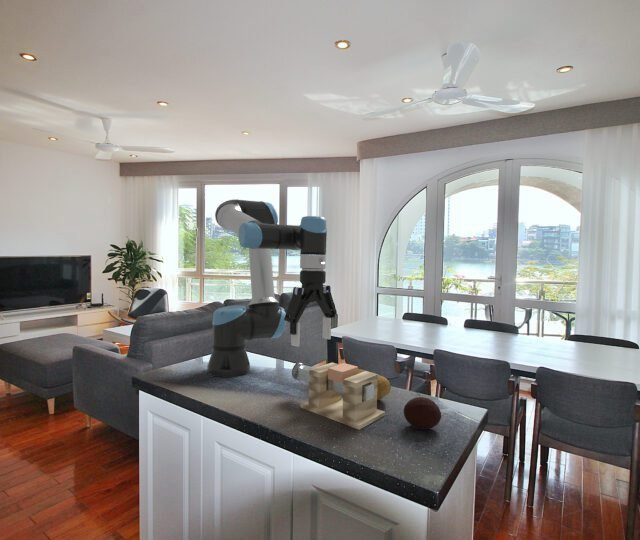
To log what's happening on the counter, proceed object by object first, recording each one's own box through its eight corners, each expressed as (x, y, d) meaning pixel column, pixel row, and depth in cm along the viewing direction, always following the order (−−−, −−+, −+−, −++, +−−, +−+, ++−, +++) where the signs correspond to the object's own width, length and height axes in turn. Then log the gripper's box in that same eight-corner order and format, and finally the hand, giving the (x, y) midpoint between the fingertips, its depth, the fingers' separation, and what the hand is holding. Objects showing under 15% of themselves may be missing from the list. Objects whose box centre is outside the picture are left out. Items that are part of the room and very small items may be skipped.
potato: (378, 409, 109) (378, 381, 108) (341, 396, 119) (341, 370, 119) (398, 401, 116) (399, 374, 115) (361, 388, 126) (362, 364, 125)
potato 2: (402, 419, 103) (403, 390, 102) (439, 423, 101) (440, 393, 101) (403, 433, 95) (404, 402, 95) (442, 437, 93) (444, 405, 93)
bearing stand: (300, 407, 109) (301, 368, 109) (328, 396, 118) (329, 360, 118) (359, 429, 96) (360, 385, 96) (384, 415, 105) (386, 375, 105)
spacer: (327, 379, 106) (327, 368, 106) (343, 373, 111) (343, 363, 111) (342, 383, 103) (342, 372, 102) (357, 377, 108) (358, 366, 108)
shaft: (291, 381, 116) (291, 364, 116) (303, 377, 120) (303, 360, 120) (364, 405, 99) (364, 385, 99) (375, 399, 103) (375, 380, 103)
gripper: (291, 271, 102) (290, 351, 102) (348, 269, 120) (347, 337, 121) (272, 269, 107) (271, 346, 107) (330, 268, 125) (328, 334, 126)
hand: (311, 342), depth 114 cm, fingers open, 13 cm apart
